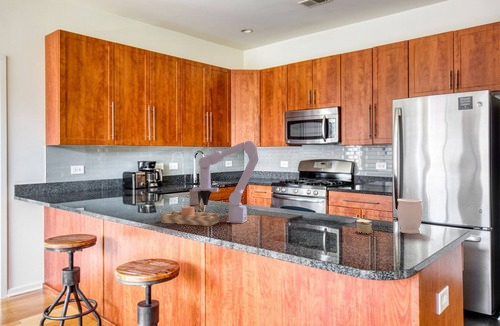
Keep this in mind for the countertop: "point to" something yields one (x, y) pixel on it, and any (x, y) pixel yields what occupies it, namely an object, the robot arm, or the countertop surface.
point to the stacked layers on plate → (363, 226)
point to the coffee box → (196, 201)
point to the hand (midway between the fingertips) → (205, 204)
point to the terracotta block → (187, 211)
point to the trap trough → (190, 218)
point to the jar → (409, 215)
